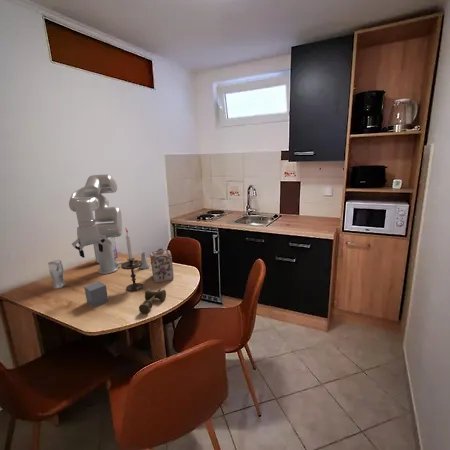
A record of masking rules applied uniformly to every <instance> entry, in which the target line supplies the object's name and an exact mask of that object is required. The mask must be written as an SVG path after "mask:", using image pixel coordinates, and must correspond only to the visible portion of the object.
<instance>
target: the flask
mask: <svg viewBox="0 0 450 450" xmlns="http://www.w3.org/2000/svg"><path fill="white" fill-rule="evenodd" d="M146 254H147V253H146V252H140V255H141V257H140V259H141V260H140V261H141V262H142V265H141V266H140V267H138V268H139V270H145V269H146V268H147V269H149V268H150V267H151V264H150V263H149V261H148V259H147V256H146Z"/></svg>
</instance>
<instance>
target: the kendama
mask: <svg viewBox="0 0 450 450" xmlns="http://www.w3.org/2000/svg"><path fill="white" fill-rule="evenodd" d="M166 297H167V291H166V289H162V288H159V289H158V290H157V291H154V290H152V289H151V288H149V287H148V288H147V289H146V290H145V292H144V298H145V299H144V301H143V303H142V304H140V305H139V307H138V311H139V313H140V314H141V315H148V314H149V313H150V310H151V309H152V308H153V303H154V301H155V299H158V300H159V301H161V302H164V301H165V300H166ZM147 300H148V301H147Z"/></svg>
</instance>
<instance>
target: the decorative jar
mask: <svg viewBox="0 0 450 450" xmlns="http://www.w3.org/2000/svg"><path fill="white" fill-rule="evenodd" d="M149 258H150V267H151V272H152V277H153V278H152V279H153V283H154V284H155V282H156V283H161V281H162V282H167V280H168V281H172V279H173V280H174V279H175V278H174V267H173V266H174V265H173V259H172V258H173V257H172V253H171V251H170V250H168V249H165V248H164V247H163V248H162V247H160V248H156V249H155V250H154V251H152V252H151V253H149Z"/></svg>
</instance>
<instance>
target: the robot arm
mask: <svg viewBox="0 0 450 450" xmlns="http://www.w3.org/2000/svg"><path fill="white" fill-rule="evenodd" d="M117 190H118V184H117V182H116V180H115V179H114V178H113V176H111V175H109V174H94V175H93V174H92V175H89V177H88V178H87V179H86V182H85V185H84V186H83V187H80V188H79V189H77V190H75V191H74V192H73V193H72V194H71V196H70V198H69V201H68V207H69V209H70V210H71V211H72V212H74V213H75V214H76V219H77V224H78V226H77V227H76V237H77V239H76V240H75V241H73V242H72V243H71V246H72V247H73V248H74V249H76V250H78V252H79V256H80V257H81V258H85V253H84V251H85V250H83V249H84V247H87V246H91V245H93V244H95V243H96V247H97V253H98V259H99V263H98V265H99V268H98V270H97V274H100V275H107V274H112V273H114V272H117V271H118V270H119V266H121V265H122V264H123V263H124V262H123V261H122V260H121V261H119V260H118V261H116V259H115V258H114V251H113V245H112V242H111V241H110V240H109V239H108V238H112V237H114V238H118V237H121V236H122V234H123V219H122V216H123V215H122V211H121V209H120V208H119V207H118V206H110V202H109V200H108V198H107V197H106V196H104V195H103V194H114V193H116V192H117ZM93 212H94V214H93ZM96 222H98V223H96ZM77 244H78V246H77Z"/></svg>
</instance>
